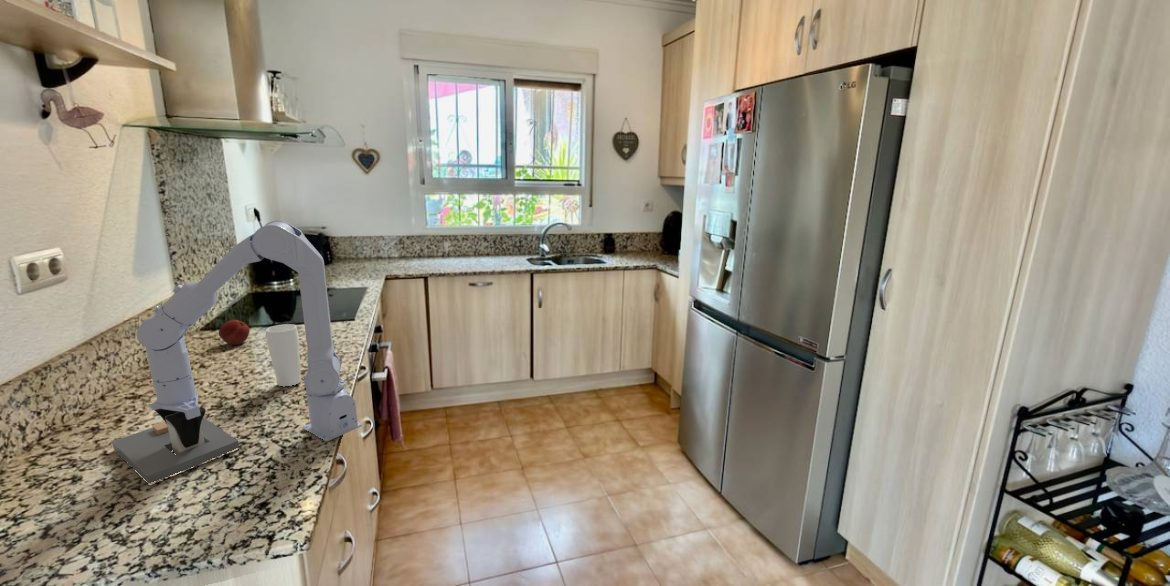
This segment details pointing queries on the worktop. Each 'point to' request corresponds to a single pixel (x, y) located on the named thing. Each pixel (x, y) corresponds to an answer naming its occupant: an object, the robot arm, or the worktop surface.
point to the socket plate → (154, 450)
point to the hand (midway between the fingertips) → (186, 441)
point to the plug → (177, 442)
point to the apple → (234, 332)
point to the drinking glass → (284, 353)
